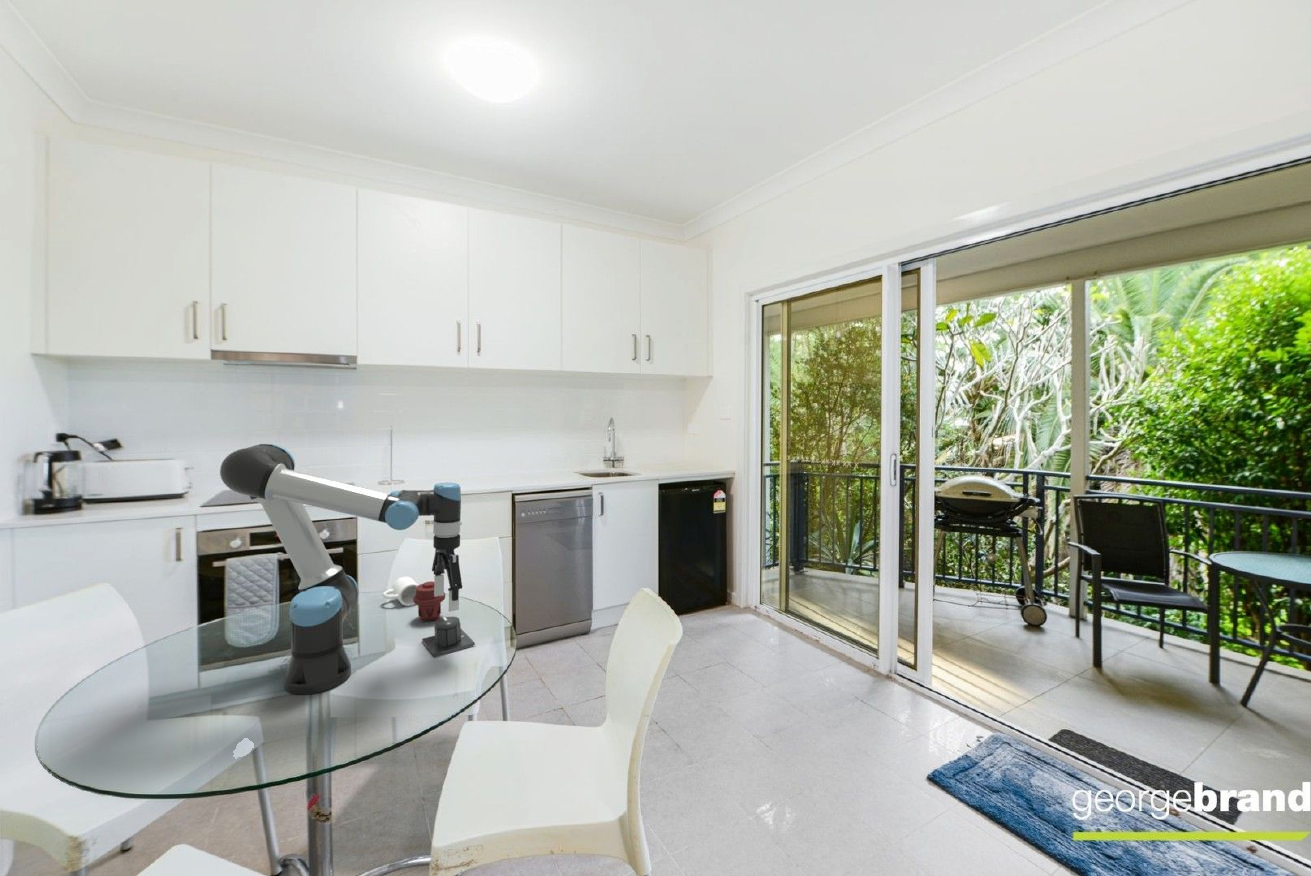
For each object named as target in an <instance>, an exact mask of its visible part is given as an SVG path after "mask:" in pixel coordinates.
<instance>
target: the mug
mask: <svg viewBox="0 0 1311 876" xmlns="http://www.w3.org/2000/svg"><path fill="white" fill-rule="evenodd" d="M419 585H420V584H418V583H417V582H416V581H415V580H414V579H413V578H412V577H410V576H401V577H399V578H397V579H396V580H395V581H394V582H393V584H392V587H391V588H390V589H387V590H385V591H384V592H383V593H382V597H383V598H384V599H386V600H398V601H399V602H400V604H401V605H403V606H405V607H413V606H415V605H416V604H415V603H414V602H413V597H414V596H415V595H416V587H417V586H419Z"/></svg>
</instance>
